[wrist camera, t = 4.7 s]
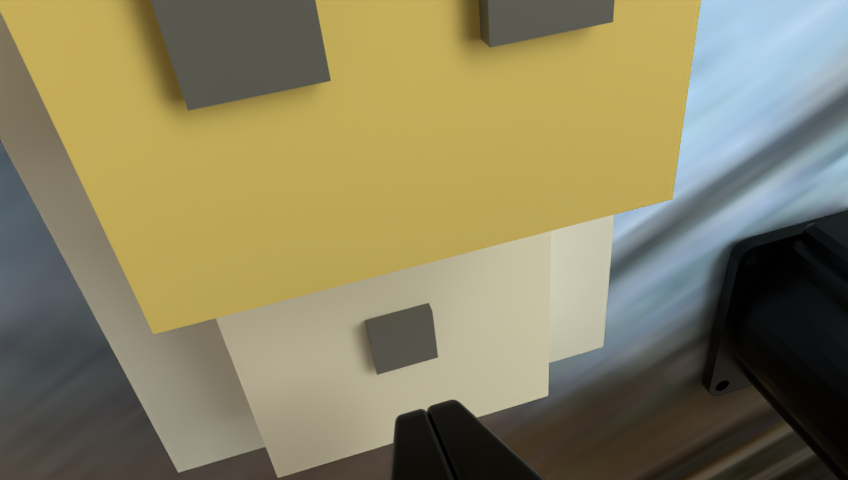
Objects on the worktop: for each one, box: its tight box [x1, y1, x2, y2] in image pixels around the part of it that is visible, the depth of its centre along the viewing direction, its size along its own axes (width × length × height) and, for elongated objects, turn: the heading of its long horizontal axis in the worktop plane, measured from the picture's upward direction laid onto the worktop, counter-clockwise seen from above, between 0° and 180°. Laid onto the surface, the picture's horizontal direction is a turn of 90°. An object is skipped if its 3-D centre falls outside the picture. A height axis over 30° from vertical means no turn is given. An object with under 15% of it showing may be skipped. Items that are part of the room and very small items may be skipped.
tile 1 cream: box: [216, 231, 551, 478], centre depth 12 cm, size 5×5×5 cm
